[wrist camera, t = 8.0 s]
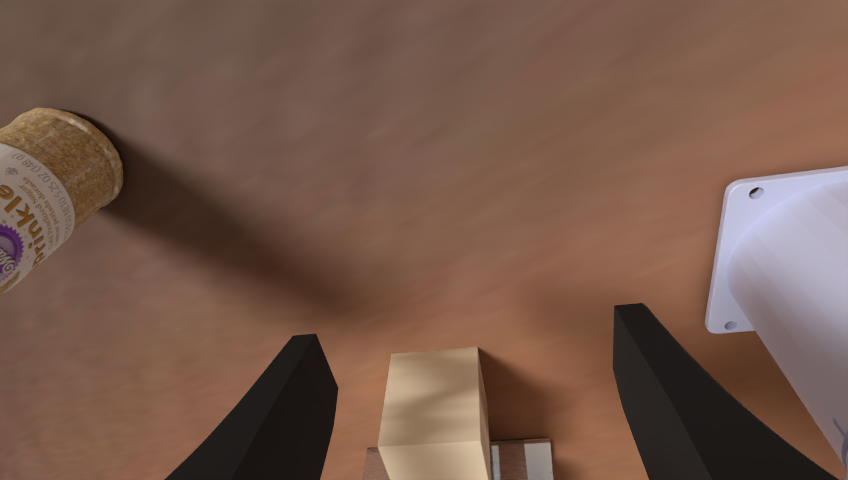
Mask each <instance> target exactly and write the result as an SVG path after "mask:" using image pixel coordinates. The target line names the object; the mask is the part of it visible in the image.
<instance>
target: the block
mask: <svg viewBox="0 0 848 480" xmlns="http://www.w3.org/2000/svg"><path fill="white" fill-rule="evenodd" d="M378 449H379V452H380V454H381V457H382V460H383V462H384V465H385V468H386V470H387V473H388V476H389V478H390V480H491V468H490V447H489V427H488V407H487V399H486V393H485V388H484V382H483V376H482V371H481V365H480V359H479V354H478V348H477V347H469V348H457V349H446V350H434V351H422V352H410V353H398V354H391V361H390V368H389V374H388V381H387V388H386V394H385V401H384V408H383V414H382V421H381V428H380V434H379V441H378Z"/></svg>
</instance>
